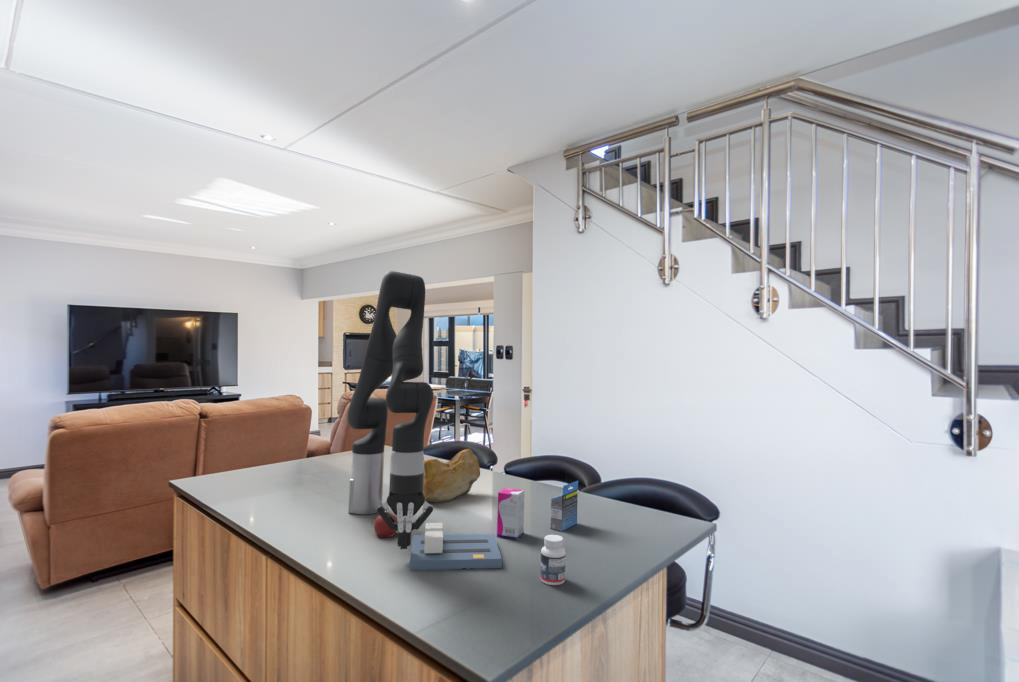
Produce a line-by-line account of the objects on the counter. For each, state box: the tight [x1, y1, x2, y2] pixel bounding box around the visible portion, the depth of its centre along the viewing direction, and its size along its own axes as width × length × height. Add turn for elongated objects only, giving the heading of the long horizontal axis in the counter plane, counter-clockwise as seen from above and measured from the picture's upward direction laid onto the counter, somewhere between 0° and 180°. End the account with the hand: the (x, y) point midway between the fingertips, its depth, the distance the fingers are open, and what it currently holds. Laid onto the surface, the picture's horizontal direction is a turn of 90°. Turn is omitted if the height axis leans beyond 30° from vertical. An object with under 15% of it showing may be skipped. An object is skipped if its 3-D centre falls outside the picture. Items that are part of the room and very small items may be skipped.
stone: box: [423, 448, 481, 503], centre depth 172 cm, size 23×17×15 cm
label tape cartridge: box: [550, 480, 579, 532], centre depth 143 cm, size 9×4×12 cm, turn 145°
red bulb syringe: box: [371, 512, 398, 538], centre depth 132 cm, size 6×6×8 cm
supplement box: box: [496, 487, 526, 540], centre depth 135 cm, size 6×6×12 cm
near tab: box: [424, 530, 444, 553], centre depth 117 cm, size 4×4×4 cm
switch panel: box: [409, 533, 503, 571], centre depth 120 cm, size 20×16×2 cm
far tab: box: [424, 522, 444, 532], centre depth 123 cm, size 4×4×4 cm
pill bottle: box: [539, 534, 567, 586], centre depth 108 cm, size 5×5×9 cm
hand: (404, 547), depth 116 cm, fingers closed
